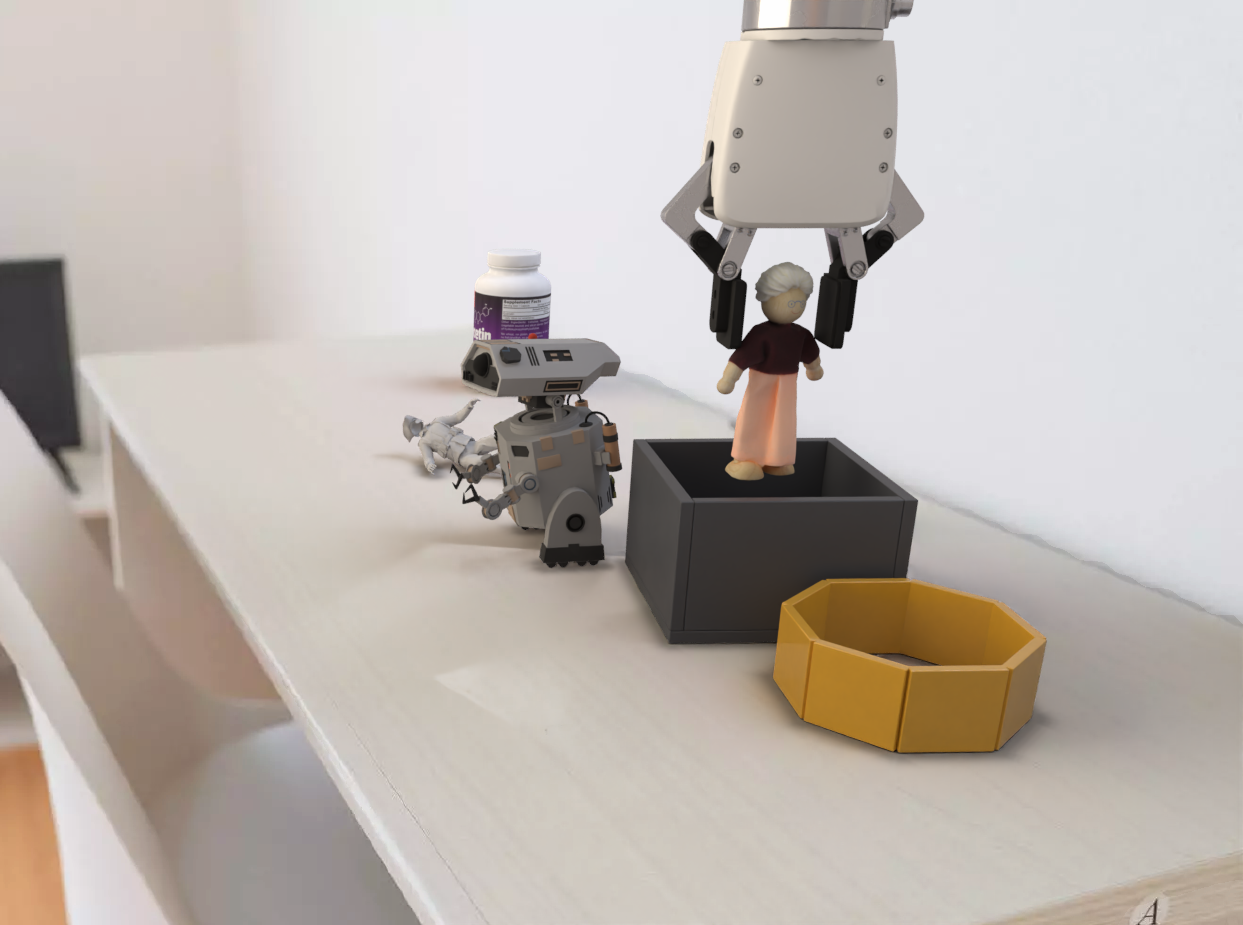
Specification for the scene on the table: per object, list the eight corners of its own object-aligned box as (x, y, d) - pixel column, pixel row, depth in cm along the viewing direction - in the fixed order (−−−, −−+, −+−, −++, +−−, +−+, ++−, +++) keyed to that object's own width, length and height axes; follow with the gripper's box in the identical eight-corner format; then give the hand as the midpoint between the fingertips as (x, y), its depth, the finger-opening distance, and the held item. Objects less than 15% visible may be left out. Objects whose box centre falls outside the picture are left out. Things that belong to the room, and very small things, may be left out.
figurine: (438, 530, 94) (441, 327, 89) (589, 523, 96) (601, 323, 91) (461, 574, 86) (465, 353, 81) (626, 566, 87) (641, 348, 82)
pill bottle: (466, 380, 141) (469, 247, 136) (538, 379, 142) (543, 246, 137) (478, 397, 134) (481, 257, 128) (554, 395, 134) (560, 256, 129)
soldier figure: (495, 502, 104) (373, 439, 108) (500, 525, 108) (383, 463, 112) (544, 426, 106) (423, 367, 109) (547, 452, 110) (431, 394, 114)
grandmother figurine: (750, 489, 75) (774, 270, 71) (699, 474, 78) (719, 263, 74) (829, 468, 80) (856, 260, 75) (778, 454, 82) (802, 253, 78)
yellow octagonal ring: (960, 648, 75) (972, 577, 73) (1068, 751, 63) (1085, 669, 62) (753, 650, 74) (761, 579, 73) (824, 754, 63) (835, 671, 61)
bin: (820, 560, 88) (835, 437, 85) (897, 641, 76) (918, 500, 73) (624, 562, 88) (633, 438, 85) (668, 643, 75) (680, 502, 72)
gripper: (939, 16, 73) (895, 332, 80) (642, 16, 73) (622, 333, 79) (1000, 10, 66) (947, 357, 73) (672, 9, 66) (647, 358, 72)
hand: (778, 341), depth 76 cm, fingers closed on grandmother figurine, 5 cm apart
